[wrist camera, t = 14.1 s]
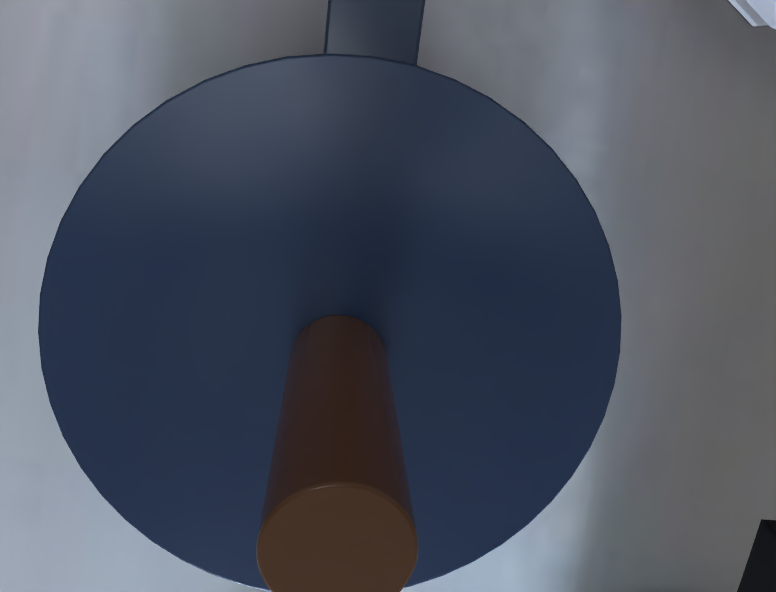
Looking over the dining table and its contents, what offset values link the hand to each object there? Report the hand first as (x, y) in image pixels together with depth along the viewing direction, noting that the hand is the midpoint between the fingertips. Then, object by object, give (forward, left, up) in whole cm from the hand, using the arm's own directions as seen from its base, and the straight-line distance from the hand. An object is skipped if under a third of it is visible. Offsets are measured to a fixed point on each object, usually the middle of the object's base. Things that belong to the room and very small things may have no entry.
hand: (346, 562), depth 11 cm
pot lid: (0, 0, -9) cm, 9 cm away
